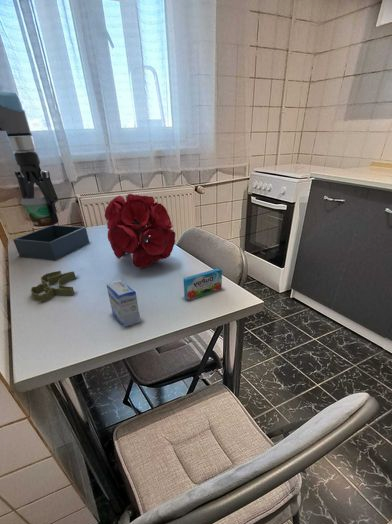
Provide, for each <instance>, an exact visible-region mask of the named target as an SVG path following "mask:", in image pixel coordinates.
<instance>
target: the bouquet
mask: <svg viewBox="0 0 392 524" xmlns="http://www.w3.org/2000/svg"><path fill="white" fill-rule="evenodd" d="M104 218H105V220H106V221H107V224H106V228H107V240H108V242H109V245H110V247H111V249H112V251H113V254H114V256H115V257H116V259H118V260H119V259H121V258H122V257H123V256H124V255H125V254H128V255H132V264H133V265H134V267H136V268H138V269H141V268H145V267H149V266H151V265H152V264H153V263H156V262H158V261H162V260H166V259H167V258H169V257H170V256H171V254H172V252H173V250H174V246H175V244H176V232H175V231H174V229H172V228H173V227H174V226H173V223H172V221H171V217H170V215H169V213H168V210H167V208H166V207H165V206H164V204H162V203H161V202H160V203H158V201H156V200H155V198H154V196H149V195H139V194H133V193H128V194H126V195H125V198H124V196H122V195H118V196H116V197H114V198H113V199H111V200H110V201H109V203H108V205H107V206H106V207H105V210H104Z"/></svg>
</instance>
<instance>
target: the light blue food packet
mask: <svg viewBox="0 0 392 524" xmlns="http://www.w3.org/2000/svg"><path fill="white" fill-rule="evenodd" d="M182 282H183V294H184V296H183V297H184V299H185V300H187V301H190V300H194V299H197V298H199V297H203V296H206V295H209V294H212V293H215V292H218V291H221V290H222V289H223V270H222V269H220V268H213V269H210V270H207V271H203V272H200V273H197V274H193V275H190V276H186V277H184V278H183V281H182Z"/></svg>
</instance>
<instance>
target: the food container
mask: <svg viewBox="0 0 392 524" xmlns="http://www.w3.org/2000/svg"><path fill="white" fill-rule="evenodd" d="M47 203H48V202H47V200H46V199H45V197H44V196H37V197H34V198H33V199H23V198H21V205H22V206H24V208H25V210H26V212H27V215H28V216H29V219H30V221H31V223H32V226H33V227H37V228H45V227H48V226H51V225H58V223H59V222H56V223H52V220H51V217H50V213H49V210H48V207H47Z"/></svg>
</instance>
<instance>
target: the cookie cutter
mask: <svg viewBox="0 0 392 524" xmlns="http://www.w3.org/2000/svg"><path fill="white" fill-rule="evenodd" d="M76 279H77V277H76V274H75V271H69V272H65V273H62V270H57V271H51V272H48V273H46V274H43V275H41V277H40V280H41V283H39V284H38V285H36V286H31V288H30V293H31V295H32V298H33V299H34V300H36V301H40V303H44V302H46V301H49V300H51V299H53V298H52V297H54V296H73V295H75V290H74V289H75V288H74V287H73V286H66V285H64V284H66V283H68V282H71V281H73V280H76ZM48 283H49V285H54V284H57V285H58V287H52V286H48ZM42 291H44V293H42V294H41V292H42Z"/></svg>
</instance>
